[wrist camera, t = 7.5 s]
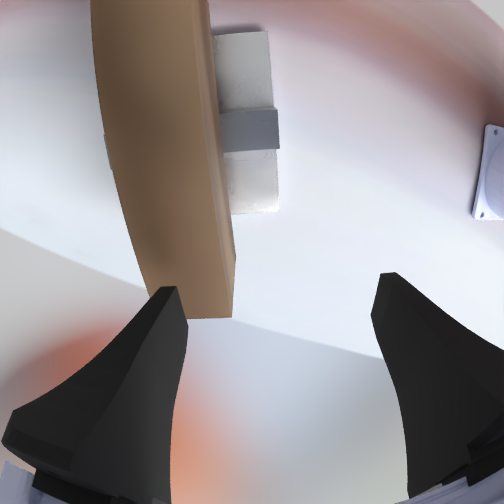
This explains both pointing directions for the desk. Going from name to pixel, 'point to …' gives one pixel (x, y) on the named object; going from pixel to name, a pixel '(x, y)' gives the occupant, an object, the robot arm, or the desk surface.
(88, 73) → the desk surface
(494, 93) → the desk surface
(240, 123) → the balance stand
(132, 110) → the walnut rod
